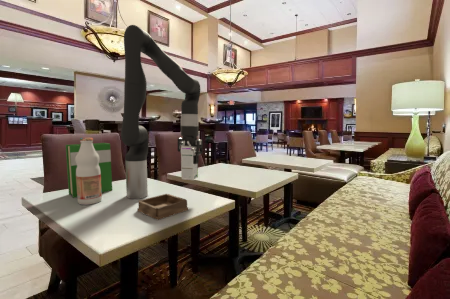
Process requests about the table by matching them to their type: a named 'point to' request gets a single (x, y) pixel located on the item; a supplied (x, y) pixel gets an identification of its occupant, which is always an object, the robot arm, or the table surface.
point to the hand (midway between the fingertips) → (189, 162)
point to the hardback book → (104, 165)
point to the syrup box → (188, 164)
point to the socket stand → (162, 206)
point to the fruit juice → (88, 173)
